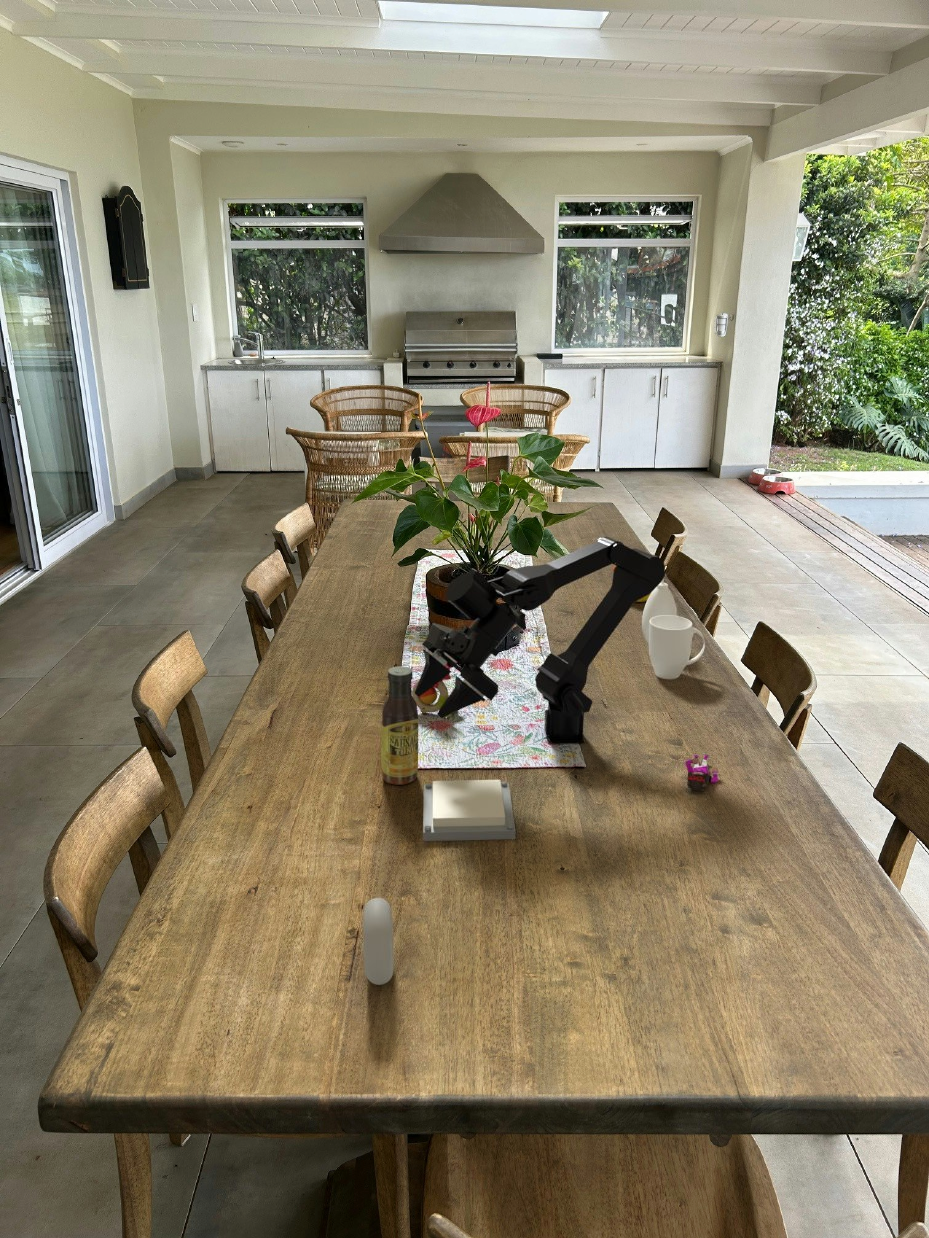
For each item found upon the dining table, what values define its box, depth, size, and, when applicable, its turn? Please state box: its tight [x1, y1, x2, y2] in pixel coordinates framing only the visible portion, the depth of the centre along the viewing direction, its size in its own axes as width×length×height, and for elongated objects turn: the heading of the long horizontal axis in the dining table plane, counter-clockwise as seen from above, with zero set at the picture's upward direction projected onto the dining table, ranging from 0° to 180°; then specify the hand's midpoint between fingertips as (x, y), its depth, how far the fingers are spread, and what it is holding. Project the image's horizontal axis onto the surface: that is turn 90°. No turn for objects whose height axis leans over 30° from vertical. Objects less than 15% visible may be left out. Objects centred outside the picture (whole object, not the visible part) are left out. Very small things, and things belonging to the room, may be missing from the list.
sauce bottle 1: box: [380, 665, 420, 786], centre depth 153 cm, size 6×6×20 cm
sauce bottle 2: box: [641, 577, 678, 644], centre depth 208 cm, size 8×8×18 cm
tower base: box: [422, 779, 516, 842], centre depth 145 cm, size 14×14×3 cm
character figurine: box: [685, 754, 720, 792], centre depth 155 cm, size 6×5×12 cm
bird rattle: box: [411, 665, 453, 718], centre depth 178 cm, size 6×11×9 cm
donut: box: [362, 897, 395, 986], centre depth 111 cm, size 10×4×10 cm, turn 4°
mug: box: [648, 615, 706, 680], centre depth 195 cm, size 12×9×12 cm
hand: (427, 705), depth 155 cm, fingers open, 9 cm apart
